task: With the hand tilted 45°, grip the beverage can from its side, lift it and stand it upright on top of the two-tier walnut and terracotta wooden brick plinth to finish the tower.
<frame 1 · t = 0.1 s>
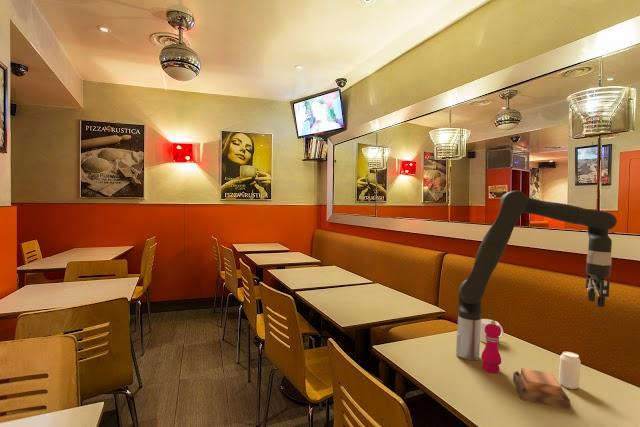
hand: (595, 303, 134), 29 cm above the table, tool pointing down, fingers open, 8 cm apart
brick plinth: (539, 393, 121), on the table
mug: (490, 341, 169), on the table
pepper mill: (490, 370, 138), on the table
beverage can: (568, 386, 128), on the table
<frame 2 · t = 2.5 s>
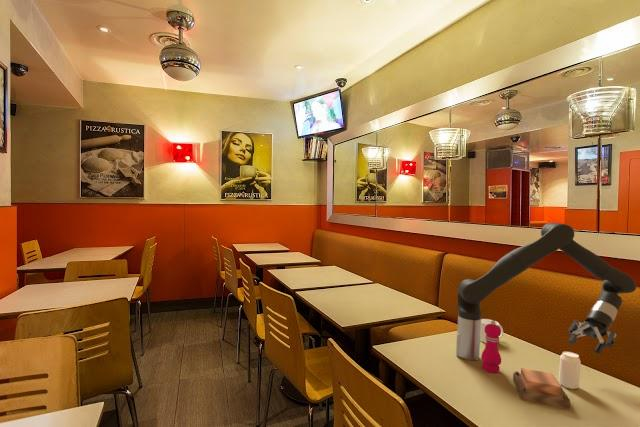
hand: (583, 348, 131), 13 cm above the table, tool tilted 45°, fingers open, 8 cm apart
nothing on the table moved.
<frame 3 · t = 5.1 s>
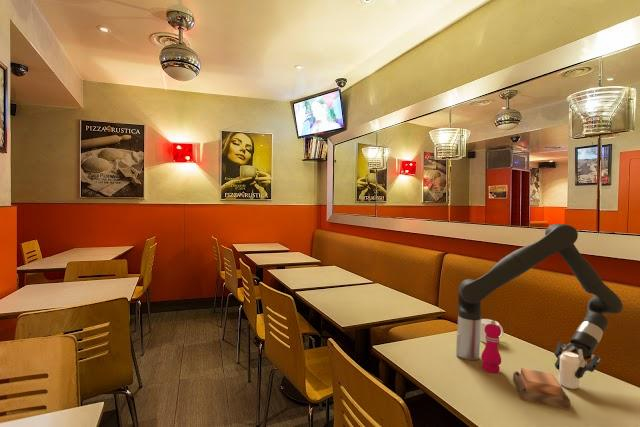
hand: (566, 372, 127), 5 cm above the table, tool tilted 45°, fingers closed on beverage can, 6 cm apart
beverage can: (568, 386, 128), on the table, touching gripper
everything else where it was.
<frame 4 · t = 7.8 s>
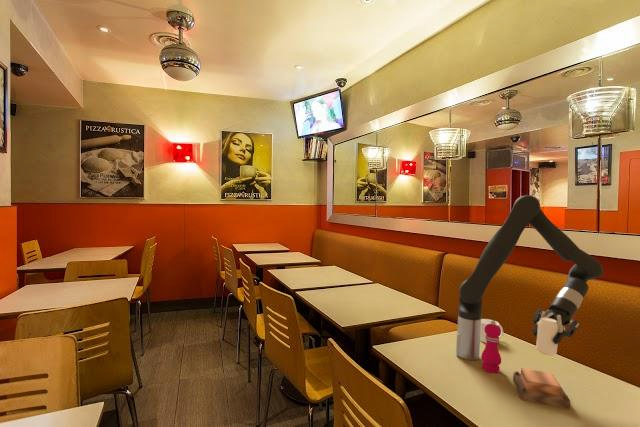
hand: (544, 338, 121), 19 cm above the table, tool tilted 45°, fingers closed on beverage can, 6 cm apart
beverage can: (546, 353, 122), point 14 cm above the table, touching gripper
everything else where it was.
when the fingers open (12 cm above the table, at t = 10.5 s): beverage can stays where it is, resting on brick plinth.
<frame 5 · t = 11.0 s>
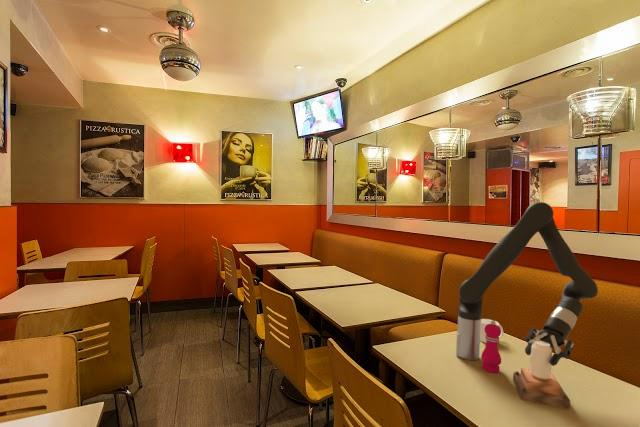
hand: (538, 358, 120), 13 cm above the table, tool tilted 45°, fingers open, 8 cm apart
beverage can: (540, 377, 121), point 6 cm above the table, touching brick plinth
everything else where it was.
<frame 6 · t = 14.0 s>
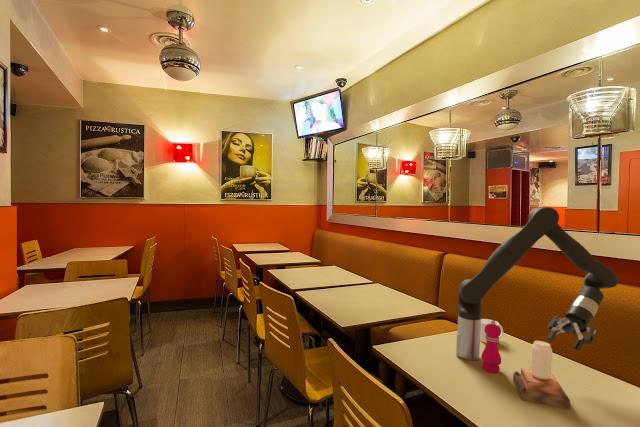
hand: (562, 345, 126), 16 cm above the table, tool tilted 45°, fingers open, 8 cm apart
nothing on the table moved.
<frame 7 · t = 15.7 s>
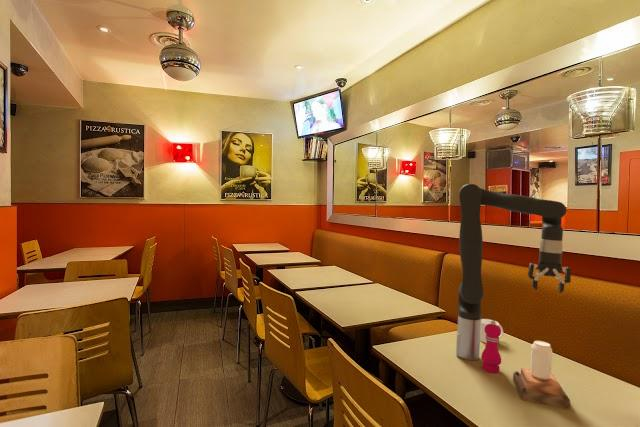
hand: (547, 290, 138), 33 cm above the table, tool pointing down, fingers open, 8 cm apart
nothing on the table moved.
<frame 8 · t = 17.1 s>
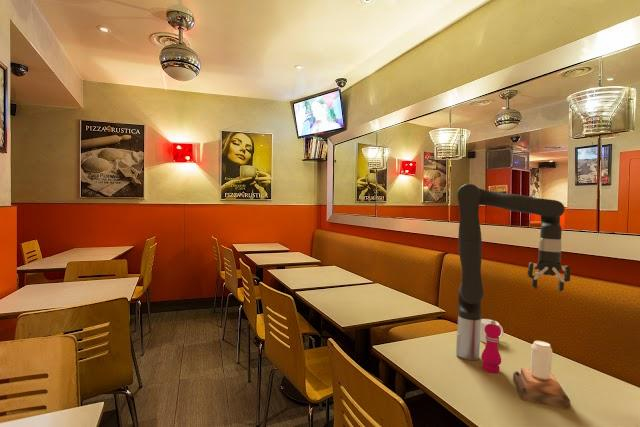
hand: (547, 289, 138), 33 cm above the table, tool pointing down, fingers open, 8 cm apart
nothing on the table moved.
at the end: beverage can inside the target area on the brick plinth (0.2 cm from its centre), point 5.8 cm above the brick plinth's base; beverage can tilted 0°; the gripper is holding nothing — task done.
